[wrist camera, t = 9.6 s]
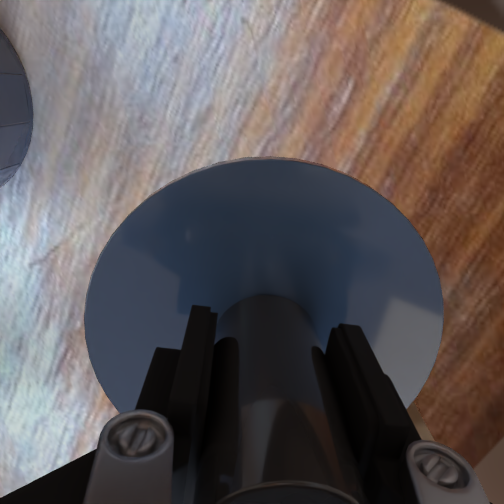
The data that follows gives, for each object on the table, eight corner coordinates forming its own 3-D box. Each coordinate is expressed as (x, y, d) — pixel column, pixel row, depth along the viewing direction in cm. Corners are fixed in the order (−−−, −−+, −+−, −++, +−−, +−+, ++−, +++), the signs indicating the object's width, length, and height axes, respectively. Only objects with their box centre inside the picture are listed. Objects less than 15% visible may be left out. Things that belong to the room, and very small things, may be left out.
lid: (378, 93, 12) (597, 93, 4) (458, 394, 15) (648, 659, 8) (31, 232, 13) (-236, 409, 6) (182, 480, 17) (135, 778, 9)
